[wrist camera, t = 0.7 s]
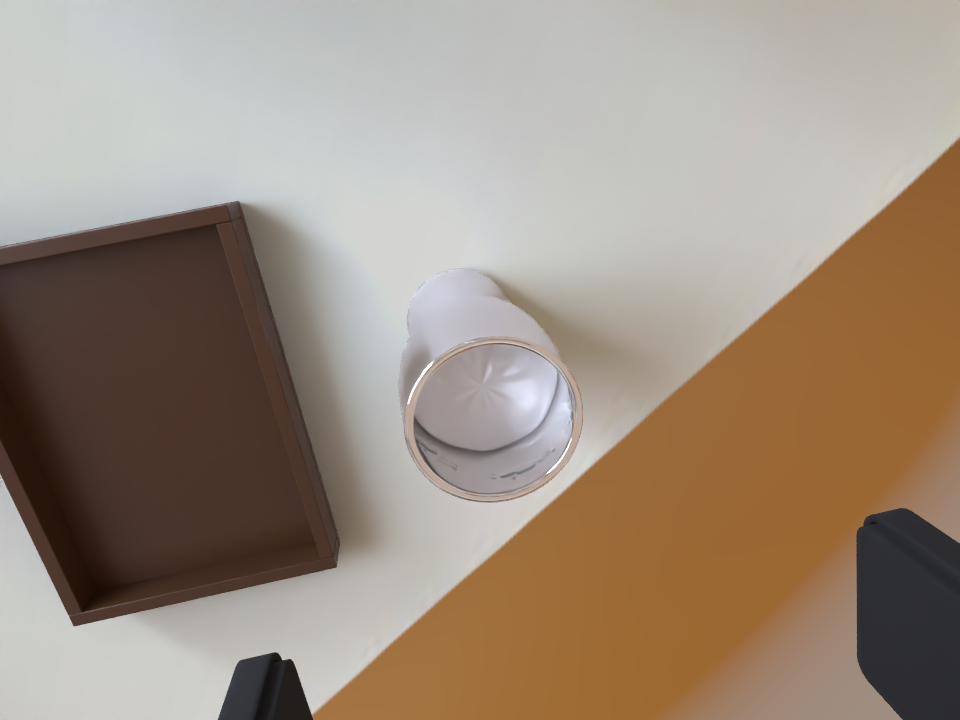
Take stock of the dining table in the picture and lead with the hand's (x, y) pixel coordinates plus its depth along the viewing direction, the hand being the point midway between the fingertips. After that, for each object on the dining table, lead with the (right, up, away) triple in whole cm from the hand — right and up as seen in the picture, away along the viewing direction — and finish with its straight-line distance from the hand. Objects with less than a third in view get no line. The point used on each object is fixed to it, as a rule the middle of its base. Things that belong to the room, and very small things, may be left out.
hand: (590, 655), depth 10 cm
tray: (-20, +2, +27) cm, 34 cm away
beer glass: (-3, +7, +27) cm, 28 cm away
